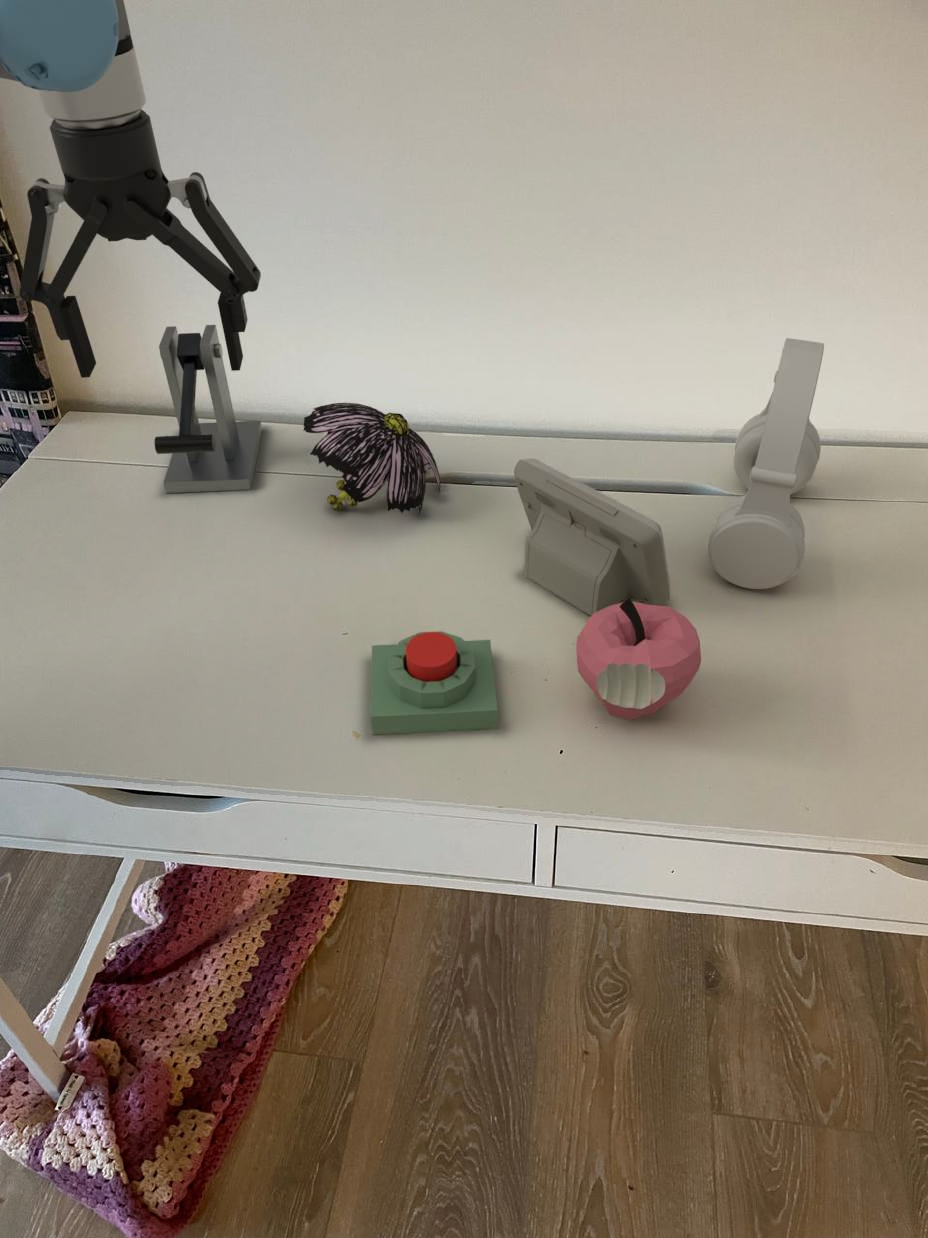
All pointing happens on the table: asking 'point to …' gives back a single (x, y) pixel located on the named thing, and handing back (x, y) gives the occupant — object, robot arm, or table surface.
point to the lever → (187, 402)
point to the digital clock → (588, 542)
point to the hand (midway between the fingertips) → (163, 367)
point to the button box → (433, 691)
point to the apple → (637, 657)
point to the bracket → (210, 426)
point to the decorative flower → (372, 454)
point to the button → (431, 656)
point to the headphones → (771, 479)
